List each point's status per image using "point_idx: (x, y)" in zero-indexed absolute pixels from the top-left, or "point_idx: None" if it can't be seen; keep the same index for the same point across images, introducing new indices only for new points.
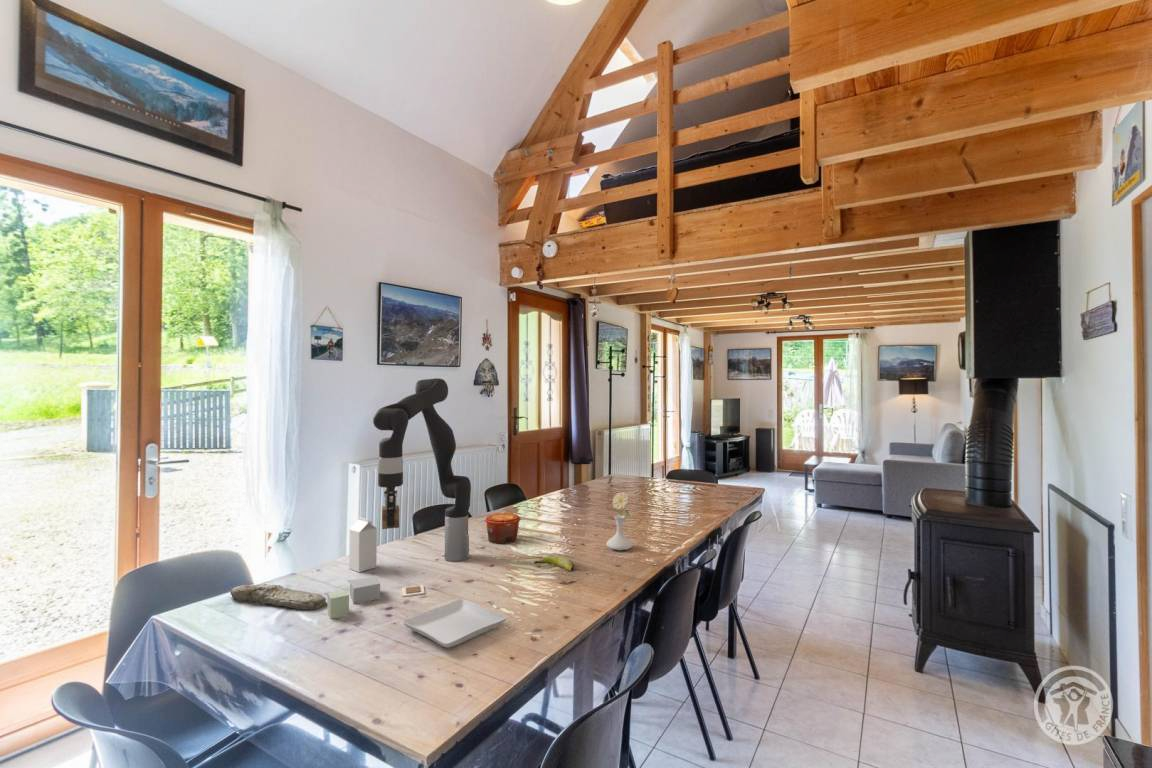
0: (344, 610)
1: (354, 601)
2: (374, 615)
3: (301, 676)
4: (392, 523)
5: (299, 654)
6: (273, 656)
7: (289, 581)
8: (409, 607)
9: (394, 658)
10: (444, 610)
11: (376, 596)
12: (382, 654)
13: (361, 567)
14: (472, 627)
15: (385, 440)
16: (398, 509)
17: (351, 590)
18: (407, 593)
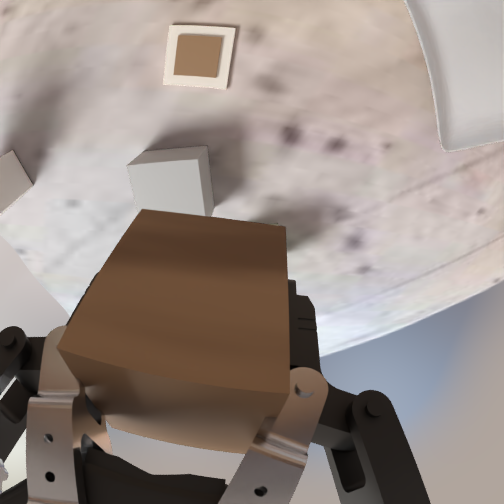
0: None
1: (213, 207)
2: (316, 175)
3: (447, 297)
4: (313, 312)
5: (390, 300)
6: (369, 323)
7: (65, 292)
8: (315, 87)
9: (500, 191)
10: (423, 36)
11: (207, 157)
12: (480, 203)
13: (24, 184)
14: (502, 35)
15: None
16: (285, 386)
17: None
18: (217, 73)
